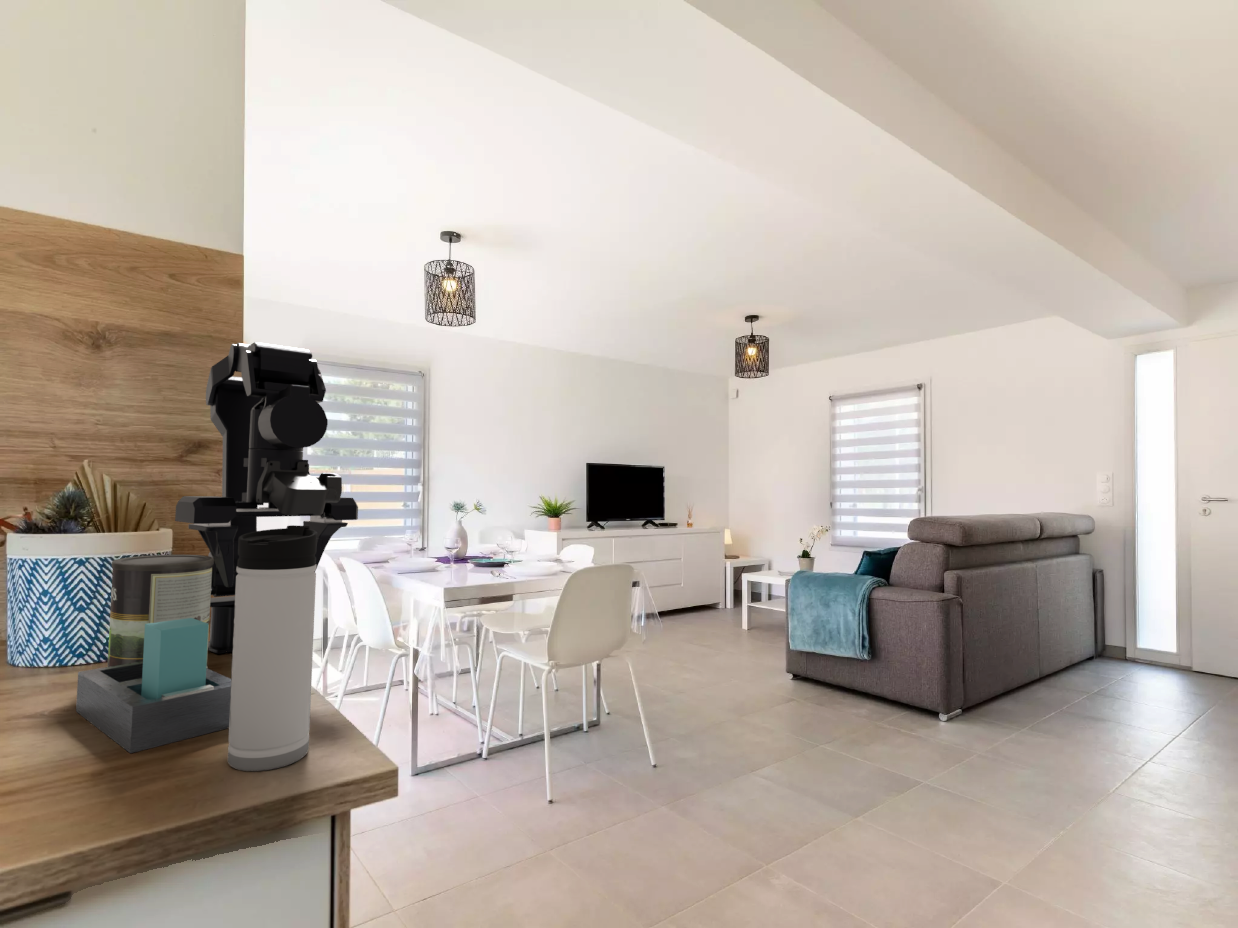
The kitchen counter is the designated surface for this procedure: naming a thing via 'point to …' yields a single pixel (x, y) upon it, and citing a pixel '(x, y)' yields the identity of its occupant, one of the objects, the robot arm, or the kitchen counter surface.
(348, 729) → the kitchen counter surface
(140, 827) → the kitchen counter surface
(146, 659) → the teal peg
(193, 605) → the coffee can
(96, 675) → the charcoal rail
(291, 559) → the travel mug
